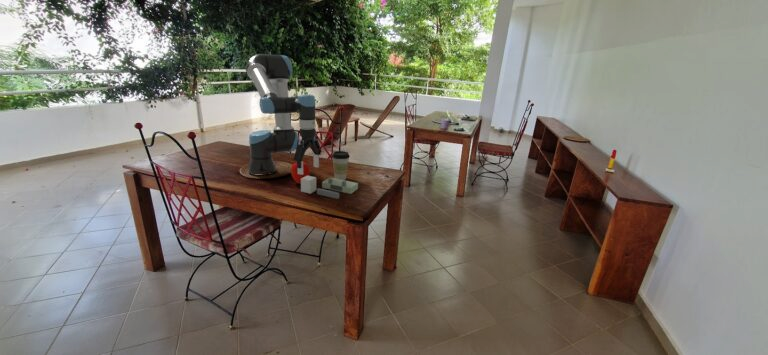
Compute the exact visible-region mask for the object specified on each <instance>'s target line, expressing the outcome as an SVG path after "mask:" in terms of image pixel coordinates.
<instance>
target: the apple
mask: <svg viewBox="0 0 768 355" xmlns="http://www.w3.org/2000/svg"><path fill="white" fill-rule="evenodd" d="M290 173H291V176H292V179H293V180H294V181H295V183H297V184H298V185H299V184H300V185H301V178H303V177H305V176H310V173H311V172H310V166H309V165H308V163H307V162H306V161H303V175H301V174H298V168H297V161H294V163H293V164H292V165H291V168H290Z"/></svg>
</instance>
